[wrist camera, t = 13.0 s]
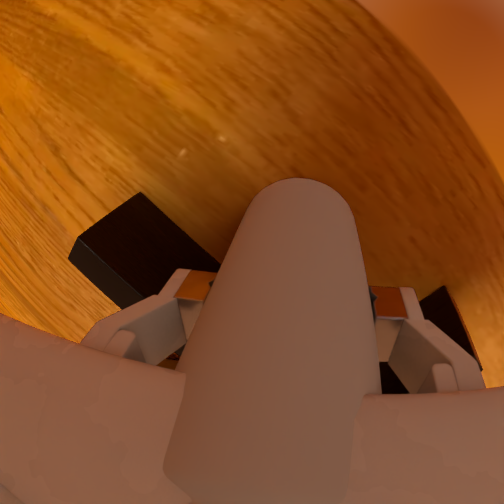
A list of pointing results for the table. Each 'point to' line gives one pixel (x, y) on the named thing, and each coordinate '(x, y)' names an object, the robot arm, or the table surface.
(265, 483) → the beverage can
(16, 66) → the table surface
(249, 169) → the table surface
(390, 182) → the table surface
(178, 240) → the bracket
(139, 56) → the table surface
